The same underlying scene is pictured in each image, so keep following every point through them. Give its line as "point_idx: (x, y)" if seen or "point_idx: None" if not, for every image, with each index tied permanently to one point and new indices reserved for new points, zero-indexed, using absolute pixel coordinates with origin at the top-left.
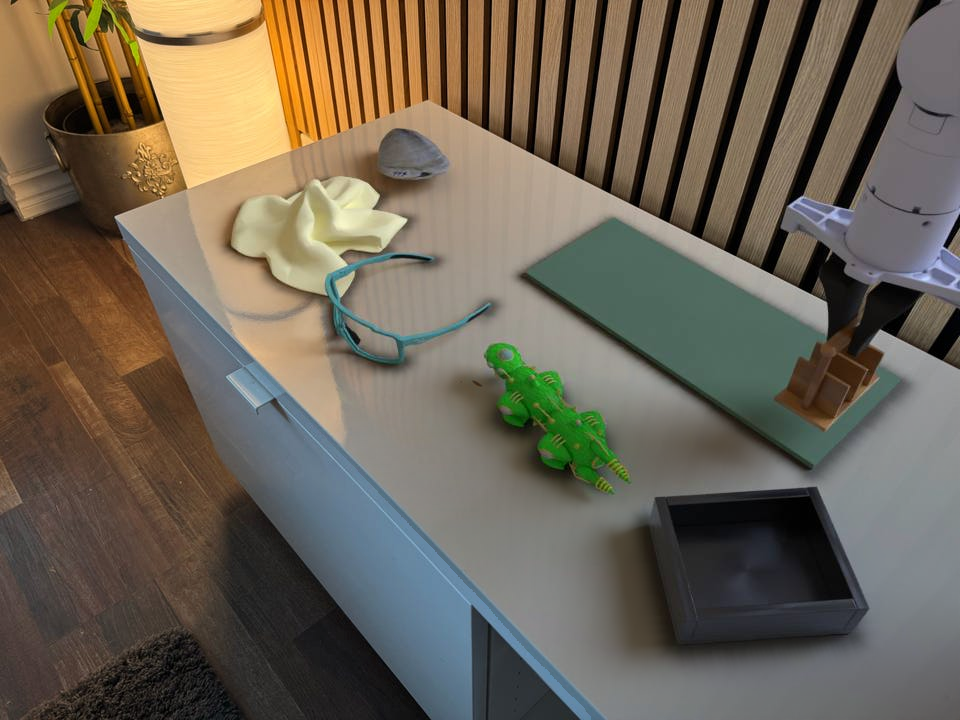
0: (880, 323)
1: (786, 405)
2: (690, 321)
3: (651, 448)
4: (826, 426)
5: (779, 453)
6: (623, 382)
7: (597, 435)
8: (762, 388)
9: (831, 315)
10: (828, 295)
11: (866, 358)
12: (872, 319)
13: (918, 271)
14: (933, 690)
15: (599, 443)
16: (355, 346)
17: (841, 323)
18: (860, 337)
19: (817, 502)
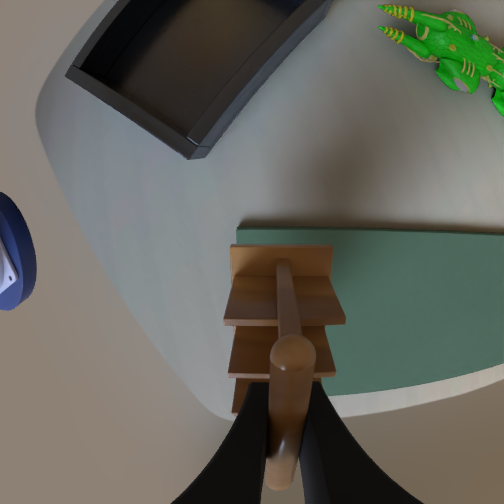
0: (196, 491)
1: (308, 246)
2: (459, 311)
3: (399, 108)
4: (232, 253)
5: (282, 218)
6: (474, 179)
7: (450, 41)
8: (355, 290)
9: (343, 439)
10: (384, 486)
11: None
12: (223, 493)
13: None
14: (40, 109)
15: (440, 18)
16: None
17: (310, 434)
18: (247, 428)
19: (171, 136)
